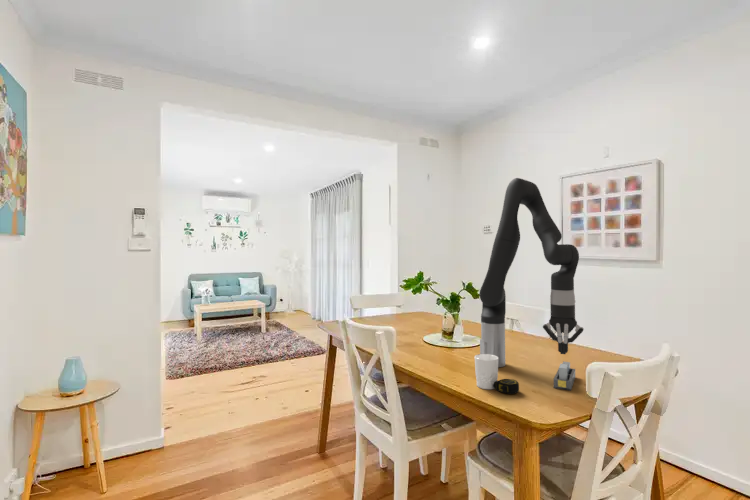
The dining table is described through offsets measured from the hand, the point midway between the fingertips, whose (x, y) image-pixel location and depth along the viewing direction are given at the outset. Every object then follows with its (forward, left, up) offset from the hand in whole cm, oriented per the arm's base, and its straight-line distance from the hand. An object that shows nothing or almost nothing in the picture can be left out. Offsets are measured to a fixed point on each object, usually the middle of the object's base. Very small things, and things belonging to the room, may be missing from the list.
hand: (563, 353), depth 130 cm
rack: (+2, +3, -11) cm, 12 cm away
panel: (0, 0, -10) cm, 10 cm away
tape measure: (-21, -4, -11) cm, 25 cm away
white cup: (-26, +1, -11) cm, 28 cm away
